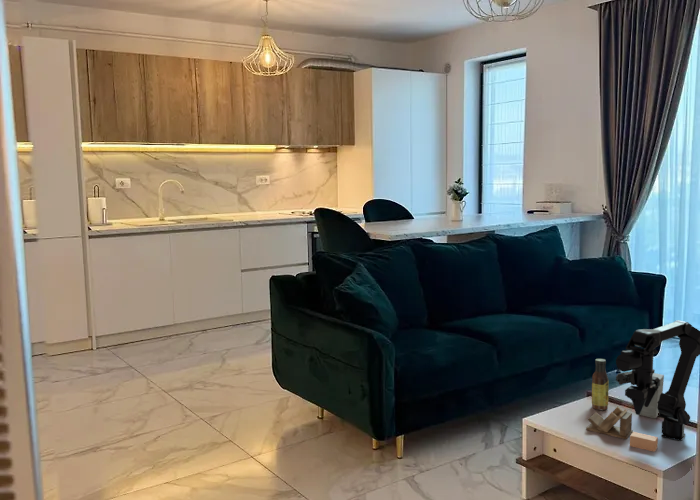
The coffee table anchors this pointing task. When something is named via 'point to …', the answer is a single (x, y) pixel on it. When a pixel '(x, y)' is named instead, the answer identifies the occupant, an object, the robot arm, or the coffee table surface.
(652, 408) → the skincare box
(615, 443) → the coffee table surface
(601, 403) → the sauce bottle
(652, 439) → the peg
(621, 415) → the cradle
